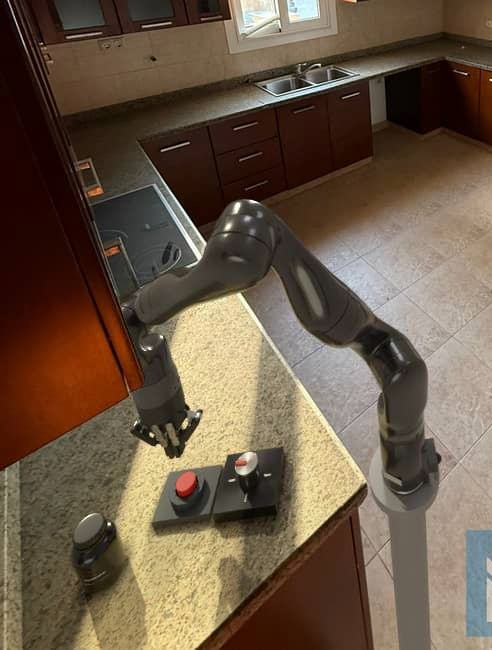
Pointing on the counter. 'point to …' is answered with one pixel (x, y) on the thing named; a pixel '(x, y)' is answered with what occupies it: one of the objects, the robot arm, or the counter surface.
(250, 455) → the stove knob
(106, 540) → the supplement bottle
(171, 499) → the button housing
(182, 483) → the power button
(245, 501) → the stove panel
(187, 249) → the counter surface
